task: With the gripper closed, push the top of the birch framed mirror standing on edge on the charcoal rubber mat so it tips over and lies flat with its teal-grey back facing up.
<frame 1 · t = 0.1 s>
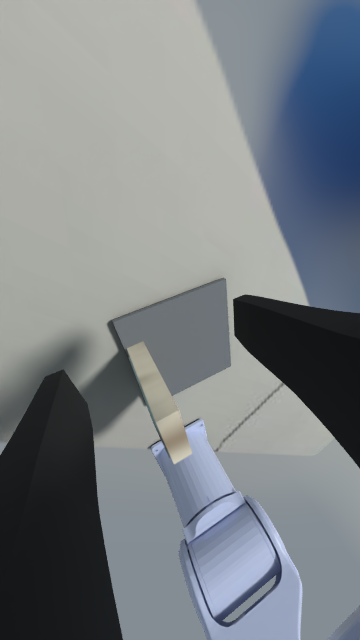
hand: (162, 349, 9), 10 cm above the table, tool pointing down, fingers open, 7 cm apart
rubber mat: (182, 346, 23), on the table
birch framed mirror: (143, 367, 21), resting on rubber mat
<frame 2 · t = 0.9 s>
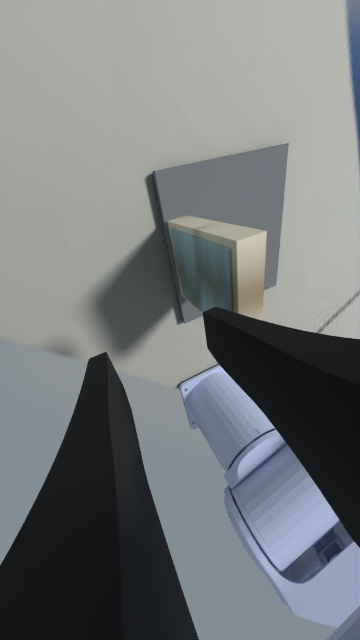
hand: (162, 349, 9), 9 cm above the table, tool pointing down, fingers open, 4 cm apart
rubber mat: (228, 242, 19), on the table
birch framed mirror: (183, 258, 17), resting on rubber mat
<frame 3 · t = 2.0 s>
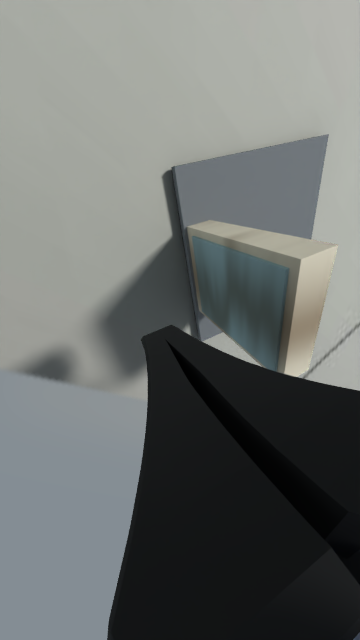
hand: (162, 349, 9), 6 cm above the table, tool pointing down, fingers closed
rubber mat: (253, 249, 16), on the table
birch framed mirror: (204, 269, 15), resting on rubber mat
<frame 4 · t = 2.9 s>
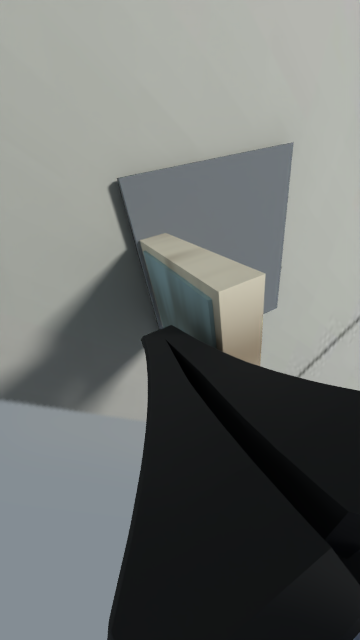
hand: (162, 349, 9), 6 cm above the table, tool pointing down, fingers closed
rubber mat: (219, 261, 16), on the table
birch framed mirror: (163, 284, 14), resting on rubber mat
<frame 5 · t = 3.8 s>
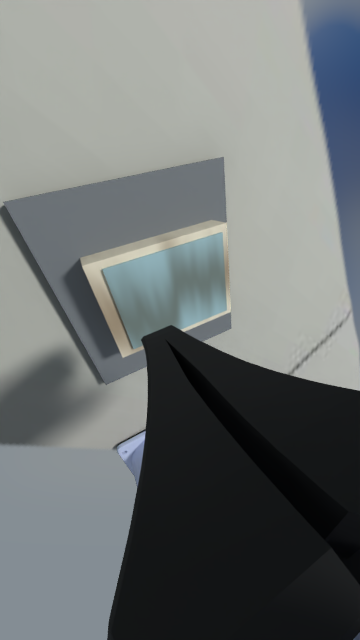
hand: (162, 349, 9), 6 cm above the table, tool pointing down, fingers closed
rubber mat: (154, 284, 14), on the table
birch framed mirror: (103, 312, 12), point 1 cm above the table, tilted 90°, touching rubber mat
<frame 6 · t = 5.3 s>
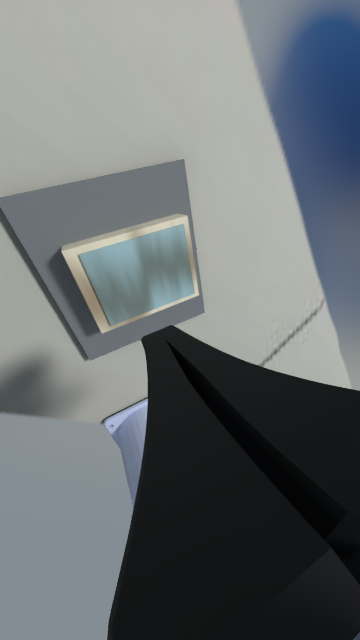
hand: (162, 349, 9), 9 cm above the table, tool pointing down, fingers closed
rubber mat: (129, 270, 16), on the table
birch framed mirror: (83, 293, 15), point 1 cm above the table, tilted 90°, touching rubber mat
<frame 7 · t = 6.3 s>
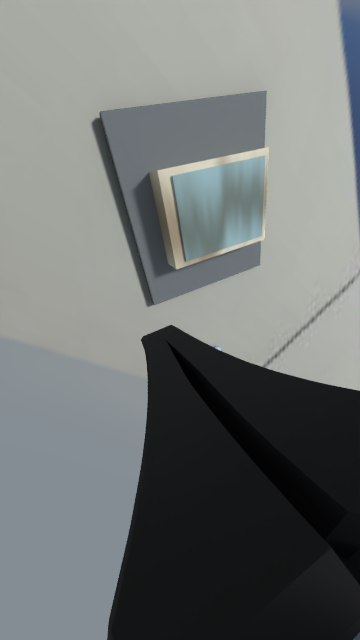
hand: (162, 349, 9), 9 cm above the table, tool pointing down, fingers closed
rubber mat: (201, 210, 17), on the table
birch framed mirror: (163, 224, 15), point 1 cm above the table, tilted 90°, touching rubber mat
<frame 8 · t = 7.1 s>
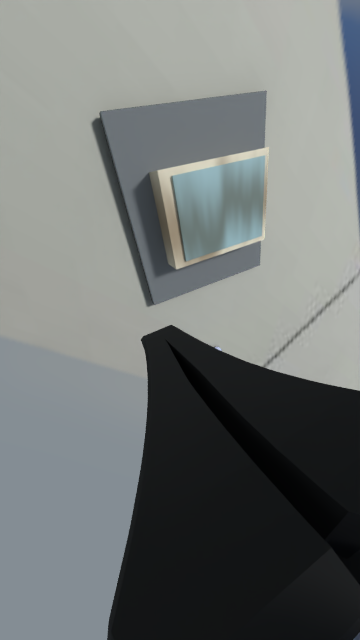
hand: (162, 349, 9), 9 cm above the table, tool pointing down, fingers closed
rubber mat: (201, 210, 17), on the table
birch framed mirror: (163, 224, 15), point 1 cm above the table, tilted 90°, touching rubber mat
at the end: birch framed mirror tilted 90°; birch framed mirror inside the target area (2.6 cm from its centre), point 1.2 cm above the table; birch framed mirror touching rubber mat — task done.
